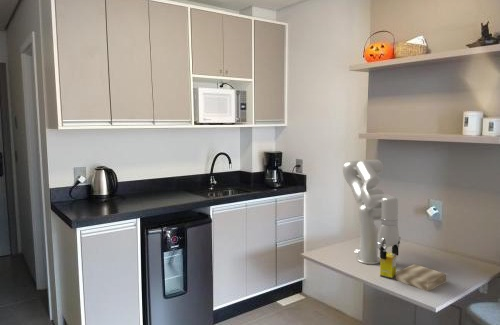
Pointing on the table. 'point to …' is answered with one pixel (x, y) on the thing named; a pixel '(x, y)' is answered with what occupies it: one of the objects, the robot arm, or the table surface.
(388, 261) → the supplement box
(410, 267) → the birch riser
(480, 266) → the table surface
